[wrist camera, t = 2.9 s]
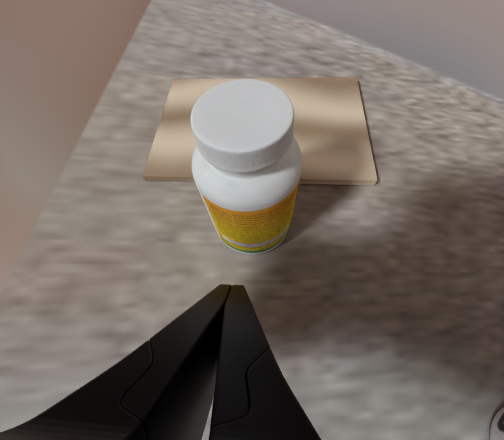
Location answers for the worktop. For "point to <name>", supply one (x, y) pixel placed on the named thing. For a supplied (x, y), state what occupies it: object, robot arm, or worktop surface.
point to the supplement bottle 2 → (497, 426)
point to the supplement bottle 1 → (247, 162)
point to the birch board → (305, 131)
